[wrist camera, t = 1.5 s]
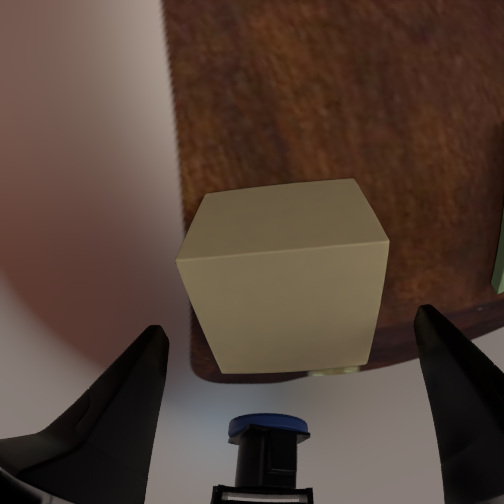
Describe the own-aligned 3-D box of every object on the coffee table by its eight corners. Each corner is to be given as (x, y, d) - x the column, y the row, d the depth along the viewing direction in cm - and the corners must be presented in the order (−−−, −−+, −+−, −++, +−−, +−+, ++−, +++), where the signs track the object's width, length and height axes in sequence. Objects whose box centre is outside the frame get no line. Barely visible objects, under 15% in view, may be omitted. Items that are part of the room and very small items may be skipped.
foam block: (350, 290, 14) (367, 364, 11) (233, 299, 15) (221, 374, 12) (354, 177, 11) (390, 240, 7) (205, 193, 12) (173, 260, 8)
